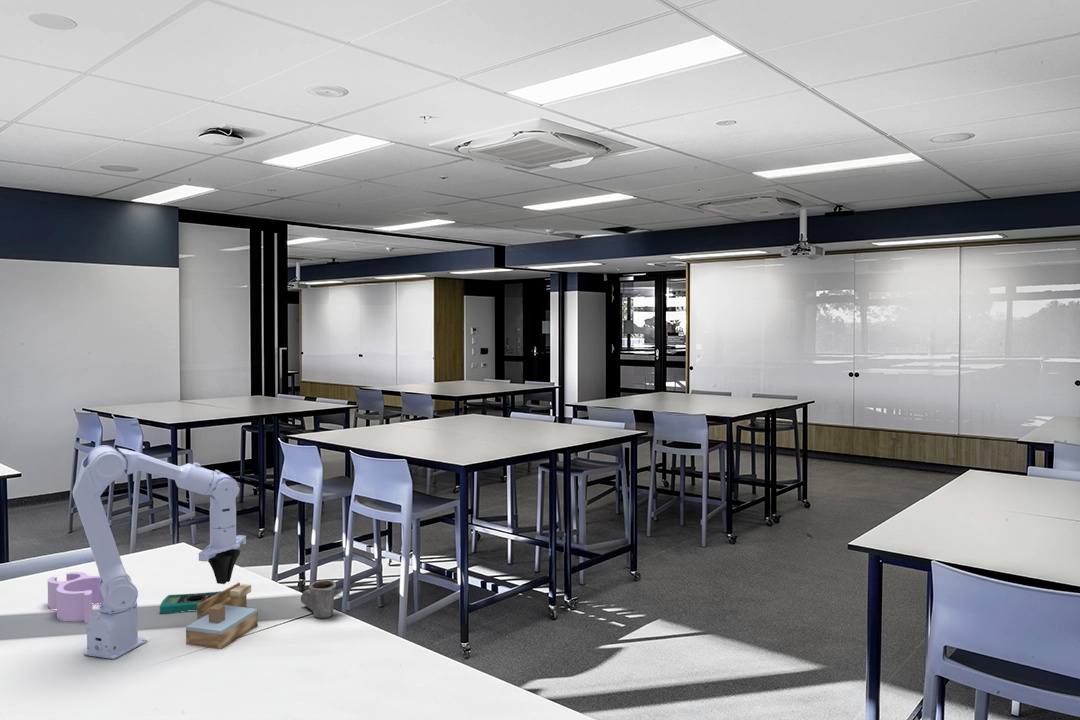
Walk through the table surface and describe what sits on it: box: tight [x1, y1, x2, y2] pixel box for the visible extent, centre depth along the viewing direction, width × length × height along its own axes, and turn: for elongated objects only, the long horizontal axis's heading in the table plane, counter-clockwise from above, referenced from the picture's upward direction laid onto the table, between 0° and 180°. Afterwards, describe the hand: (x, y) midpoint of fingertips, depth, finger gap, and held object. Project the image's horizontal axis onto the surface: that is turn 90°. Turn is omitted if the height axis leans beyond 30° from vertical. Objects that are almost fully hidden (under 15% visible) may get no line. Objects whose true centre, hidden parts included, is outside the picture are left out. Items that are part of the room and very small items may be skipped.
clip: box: [47, 571, 104, 624], centre depth 182 cm, size 20×12×7 cm, turn 59°
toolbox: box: [185, 582, 259, 650], centre depth 172 cm, size 22×11×6 cm, turn 166°
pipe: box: [300, 579, 337, 619], centre depth 181 cm, size 6×13×8 cm, turn 46°
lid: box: [185, 604, 258, 635], centre depth 168 cm, size 13×9×5 cm
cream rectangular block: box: [230, 583, 252, 599], centre depth 181 cm, size 5×2×2 cm, turn 166°
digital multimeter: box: [159, 590, 223, 615], centre depth 185 cm, size 7×15×3 cm, turn 104°
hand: (223, 582), depth 174 cm, fingers closed
